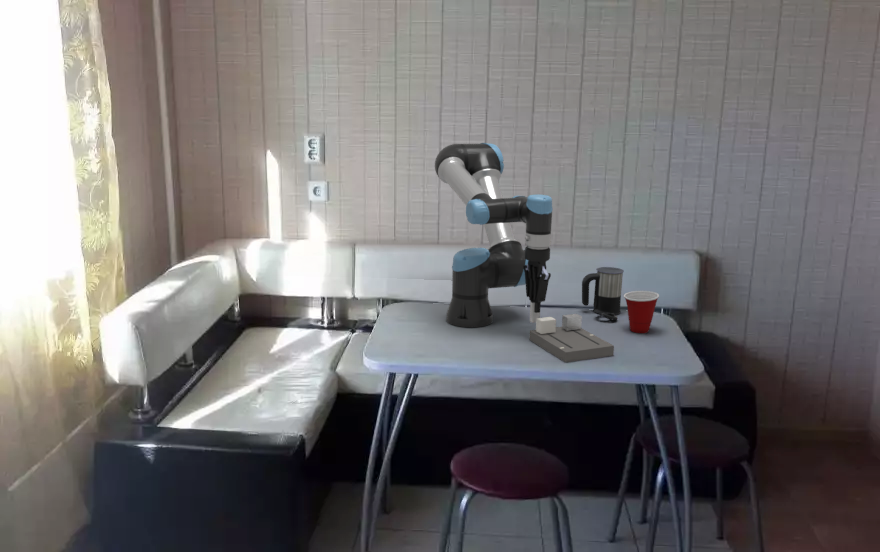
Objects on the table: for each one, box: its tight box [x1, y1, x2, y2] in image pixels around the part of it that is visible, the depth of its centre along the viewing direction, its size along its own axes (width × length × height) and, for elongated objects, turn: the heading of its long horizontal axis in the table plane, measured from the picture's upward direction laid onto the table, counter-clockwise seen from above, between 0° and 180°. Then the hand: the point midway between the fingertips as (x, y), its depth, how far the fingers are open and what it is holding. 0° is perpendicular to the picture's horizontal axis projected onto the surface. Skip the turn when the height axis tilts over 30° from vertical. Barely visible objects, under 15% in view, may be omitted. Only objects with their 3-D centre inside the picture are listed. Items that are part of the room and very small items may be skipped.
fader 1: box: [535, 316, 557, 334], centre depth 246 cm, size 3×5×4 cm, turn 113°
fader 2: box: [561, 313, 583, 331], centre depth 250 cm, size 3×5×4 cm, turn 113°
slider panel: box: [528, 326, 615, 363], centre depth 243 cm, size 21×16×3 cm
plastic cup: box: [623, 290, 660, 334], centre depth 258 cm, size 11×11×12 cm
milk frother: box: [581, 266, 624, 322], centre depth 274 cm, size 14×16×15 cm
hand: (534, 321), depth 253 cm, fingers closed
